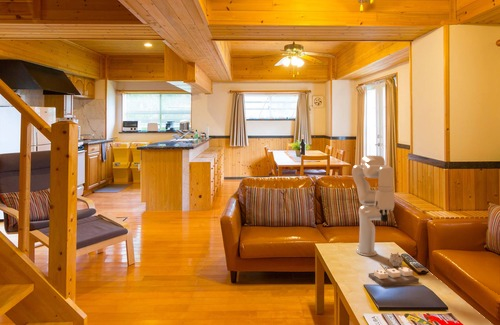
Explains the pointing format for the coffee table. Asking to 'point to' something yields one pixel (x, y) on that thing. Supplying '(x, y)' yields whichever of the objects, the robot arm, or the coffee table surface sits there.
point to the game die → (396, 260)
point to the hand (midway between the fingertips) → (384, 221)
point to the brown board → (394, 280)
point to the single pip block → (393, 273)
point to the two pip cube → (405, 271)
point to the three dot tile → (381, 274)
